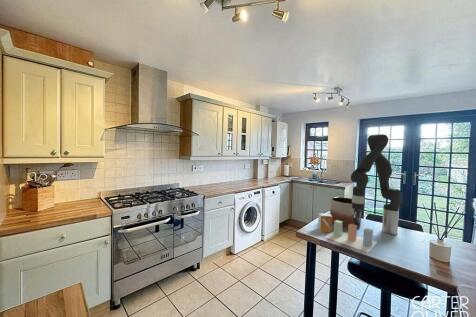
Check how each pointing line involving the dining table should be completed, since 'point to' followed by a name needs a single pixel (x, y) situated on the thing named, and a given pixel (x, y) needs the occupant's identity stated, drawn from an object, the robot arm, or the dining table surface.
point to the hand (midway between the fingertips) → (356, 226)
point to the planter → (342, 211)
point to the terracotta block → (352, 232)
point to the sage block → (338, 228)
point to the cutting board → (356, 244)
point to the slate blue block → (367, 237)
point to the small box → (325, 222)
